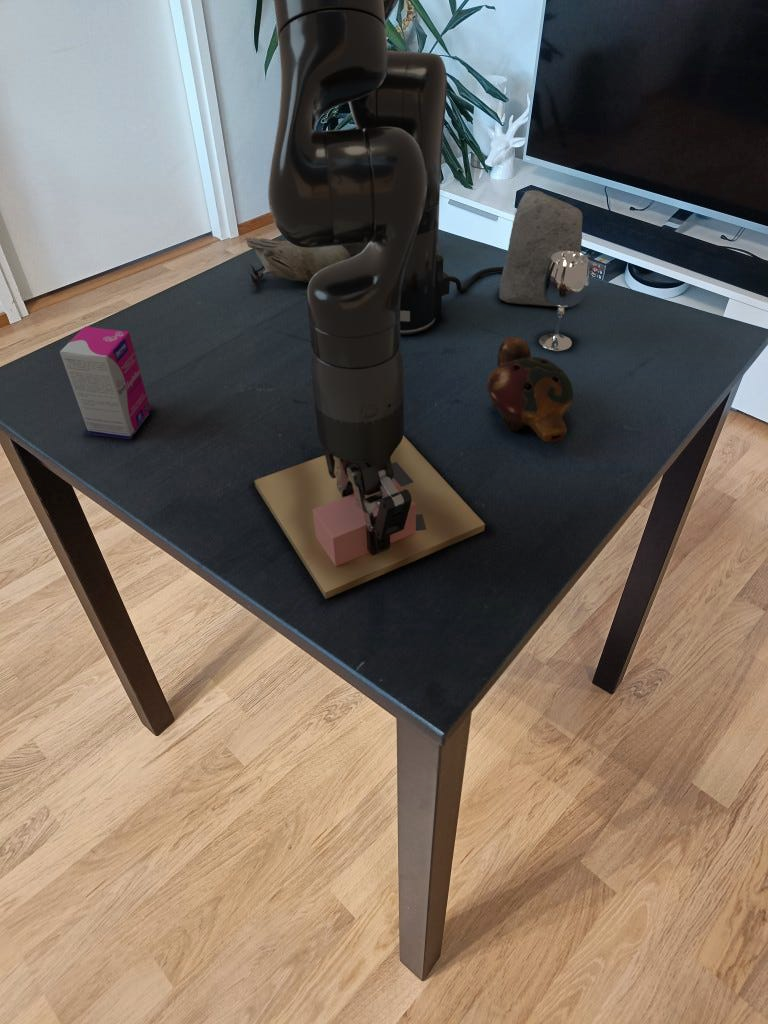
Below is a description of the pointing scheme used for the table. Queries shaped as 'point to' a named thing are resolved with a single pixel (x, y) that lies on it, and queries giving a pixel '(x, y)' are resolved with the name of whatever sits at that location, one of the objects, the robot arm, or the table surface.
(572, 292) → the wineglass
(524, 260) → the decorative stone
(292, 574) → the table surface
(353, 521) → the eraser
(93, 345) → the supplement box
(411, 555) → the board
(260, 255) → the decorative bird
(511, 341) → the brown ceramic rounded figure
